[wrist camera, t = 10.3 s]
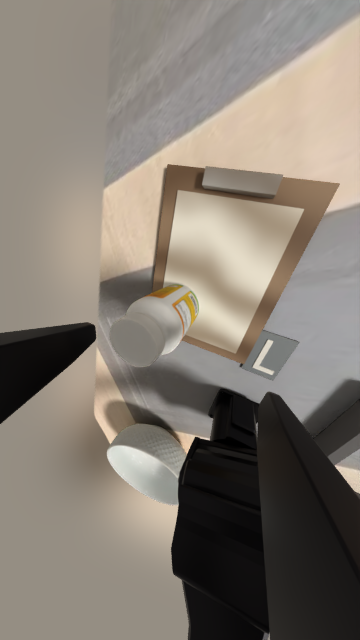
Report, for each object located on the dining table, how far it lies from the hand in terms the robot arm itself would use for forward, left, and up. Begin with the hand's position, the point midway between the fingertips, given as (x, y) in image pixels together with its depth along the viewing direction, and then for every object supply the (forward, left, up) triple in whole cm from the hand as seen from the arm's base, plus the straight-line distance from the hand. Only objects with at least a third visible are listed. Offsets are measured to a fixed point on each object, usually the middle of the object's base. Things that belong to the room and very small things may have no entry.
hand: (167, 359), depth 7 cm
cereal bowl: (-34, +1, -13) cm, 36 cm away
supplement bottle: (-2, +3, -12) cm, 13 cm away
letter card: (-5, -9, -12) cm, 16 cm away
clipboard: (+2, 0, -12) cm, 13 cm away
